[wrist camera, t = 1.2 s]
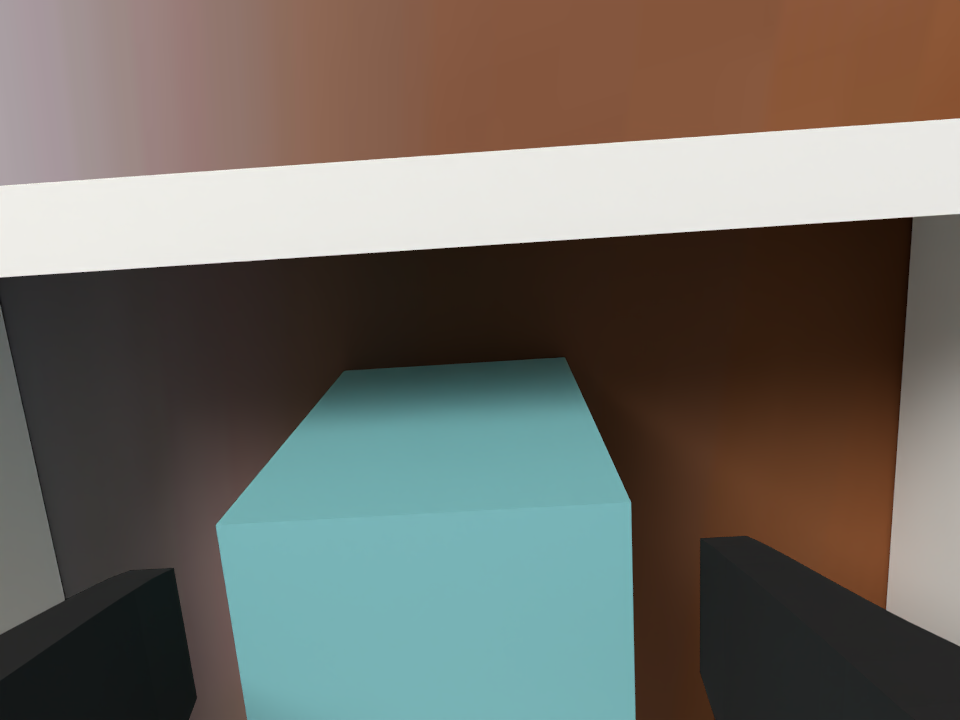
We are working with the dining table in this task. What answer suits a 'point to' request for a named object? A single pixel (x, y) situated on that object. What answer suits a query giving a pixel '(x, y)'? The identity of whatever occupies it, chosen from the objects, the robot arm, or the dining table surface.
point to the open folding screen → (519, 219)
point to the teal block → (436, 554)
